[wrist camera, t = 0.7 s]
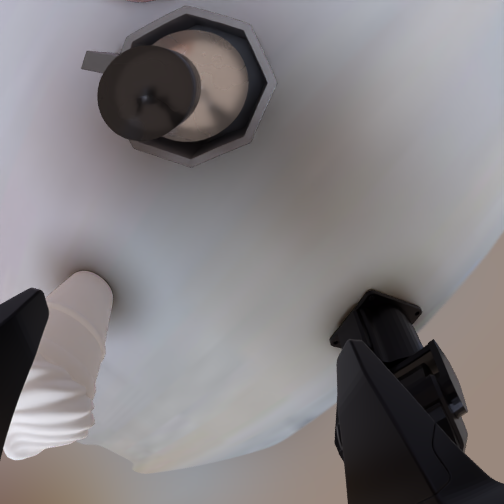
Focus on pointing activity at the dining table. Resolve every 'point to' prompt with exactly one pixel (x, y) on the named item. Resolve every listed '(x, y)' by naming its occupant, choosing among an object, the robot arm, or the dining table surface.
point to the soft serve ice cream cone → (63, 369)
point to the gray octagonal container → (258, 79)
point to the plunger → (174, 88)
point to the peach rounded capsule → (140, 0)
